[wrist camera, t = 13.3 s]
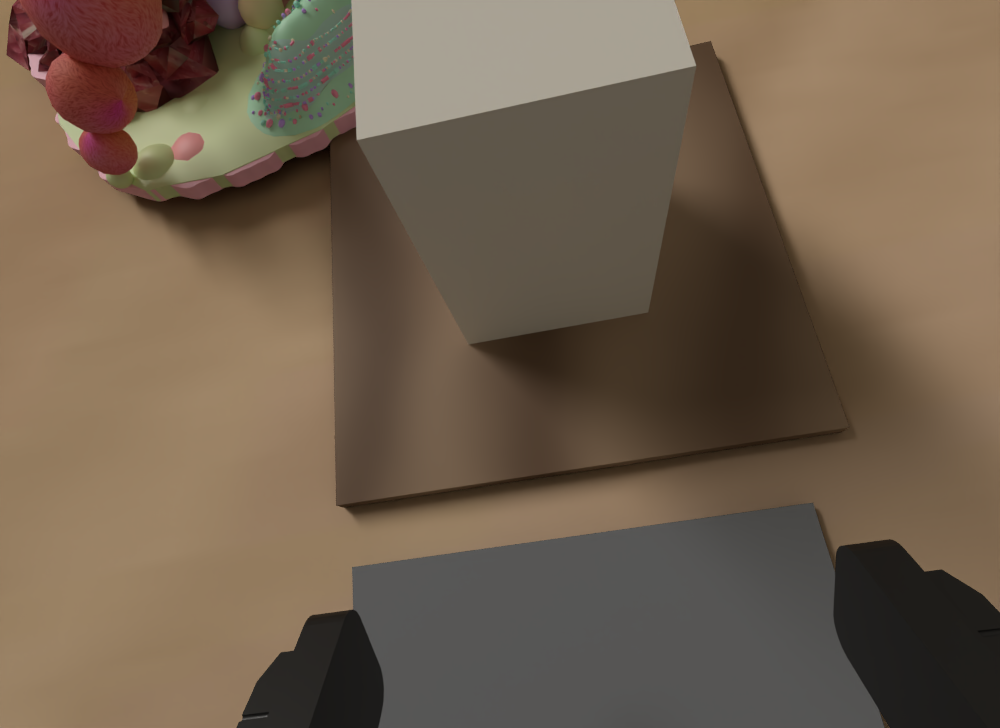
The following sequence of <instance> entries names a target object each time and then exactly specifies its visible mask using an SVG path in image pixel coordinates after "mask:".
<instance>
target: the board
mask: <svg viewBox="0 0 1000 728" xmlns="http://www.w3.org/2000/svg"><path fill="white" fill-rule="evenodd" d="M690 49H691V51H692V54H693V57H694V60H695V63H696V70H695V75H694V80H693V85H692V90H691V95H690V101H689V106H688V111H687V116H686V121H685V126H684V131H683V137H682V142H681V147H680V152H679V157H678V162H677V167H676V172H675V178H674V183H673V188H672V193H671V198H670V203H669V208H668V214H667V219H666V224H665V229H664V234H663V239H662V244H661V249H660V255H659V260H658V265H657V270H656V275H655V280H654V285H653V290H652V296H651V301H650V306H649V311H648V313H643V314H637V315H631V316H626V317H620V318H615V319H609V320H603V321H598V322H592V323H586V324H581V325H575V326H569V327H564V328H558V329H553V330H547V331H541V332H536V333H530V334H524V335H519V336H513V337H508V338H502V339H496V340H491V341H485V342H479V343H474V344H468V343H467V341H466V339H465V337H464V336H463V334H462V332H461V330H460V328H459V326H458V325H457V323H456V321H455V319H454V317H453V315H452V314H451V312H450V310H449V308H448V306H447V304H446V303H445V301H444V299H443V297H442V295H441V293H440V292H439V290H438V288H437V286H436V284H435V283H434V281H433V279H432V277H431V275H430V273H429V272H428V270H427V268H426V266H425V264H424V262H423V261H422V259H421V257H420V255H419V253H418V251H417V250H416V248H415V246H414V244H413V242H412V240H411V239H410V237H409V235H408V233H407V231H406V229H405V228H404V226H403V224H402V222H401V220H400V218H399V217H398V215H397V213H396V211H395V209H394V208H393V206H392V204H391V202H390V200H389V198H388V197H387V195H386V193H385V191H384V189H383V187H382V186H381V184H380V182H379V180H378V178H377V176H376V175H375V173H374V171H373V169H372V167H371V165H370V164H369V162H368V160H367V158H366V156H365V154H364V153H363V151H362V149H361V147H360V145H359V143H358V142H357V136H356V127H355V128H352V129H350V130H349V131H347V132H345V133H343V134H340V135H338V136H336V137H335V138H333V139H332V140H331V142H330V164H331V224H332V283H333V343H334V402H335V462H336V506H340V507H351V506H357V505H364V504H370V503H377V502H384V501H390V500H397V499H403V498H410V497H417V496H423V495H430V494H436V493H443V492H450V491H456V490H463V489H469V488H476V487H483V486H489V485H496V484H502V483H509V482H516V481H522V480H529V479H535V478H542V477H549V476H555V475H562V474H568V473H575V472H581V471H588V470H595V469H601V468H608V467H614V466H621V465H628V464H634V463H641V462H647V461H654V460H661V459H667V458H674V457H680V456H687V455H694V454H700V453H707V452H713V451H720V450H727V449H733V448H740V447H746V446H753V445H759V444H766V443H773V442H779V441H786V440H792V439H799V438H806V437H812V436H819V435H825V434H832V433H839V432H842V431H844V430H846V429H847V428H849V424H848V422H847V419H846V416H845V413H844V410H843V408H842V405H841V402H840V399H839V397H838V394H837V391H836V388H835V385H834V383H833V380H832V377H831V374H830V372H829V369H828V366H827V363H826V360H825V358H824V355H823V352H822V349H821V346H820V344H819V341H818V338H817V335H816V333H815V330H814V327H813V324H812V321H811V319H810V316H809V313H808V310H807V308H806V305H805V302H804V299H803V296H802V294H801V291H800V288H799V285H798V282H797V280H796V277H795V274H794V271H793V269H792V266H791V263H790V260H789V257H788V255H787V252H786V249H785V246H784V244H783V241H782V238H781V235H780V232H779V230H778V227H777V224H776V221H775V218H774V216H773V213H772V210H771V207H770V205H769V202H768V199H767V196H766V193H765V191H764V188H763V185H762V182H761V180H760V177H759V174H758V171H757V168H756V166H755V163H754V160H753V157H752V154H751V152H750V149H749V146H748V143H747V141H746V138H745V135H744V132H743V129H742V127H741V124H740V121H739V118H738V116H737V113H736V110H735V107H734V104H733V102H732V99H731V96H730V93H729V90H728V88H727V85H726V82H725V79H724V77H723V74H722V71H721V68H720V65H719V63H718V60H717V57H716V54H715V51H714V49H713V46H712V43H711V41H709V42H705V43H700V44H696V45H692V46H690Z"/></svg>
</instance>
